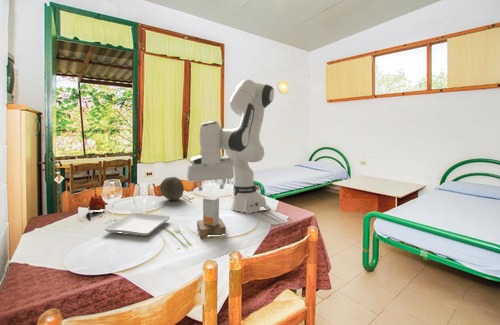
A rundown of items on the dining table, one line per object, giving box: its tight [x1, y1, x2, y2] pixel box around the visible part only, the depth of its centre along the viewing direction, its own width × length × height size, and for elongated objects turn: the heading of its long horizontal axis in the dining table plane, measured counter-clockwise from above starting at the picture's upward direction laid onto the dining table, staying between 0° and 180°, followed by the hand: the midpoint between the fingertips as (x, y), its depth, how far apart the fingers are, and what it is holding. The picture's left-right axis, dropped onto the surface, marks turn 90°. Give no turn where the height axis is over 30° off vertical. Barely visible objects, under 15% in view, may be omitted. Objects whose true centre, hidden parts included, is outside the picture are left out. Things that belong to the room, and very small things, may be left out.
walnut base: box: [196, 217, 227, 239], centre depth 117 cm, size 11×11×4 cm
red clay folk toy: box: [88, 184, 106, 211], centre depth 140 cm, size 8×7×15 cm
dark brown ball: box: [159, 176, 185, 201], centre depth 164 cm, size 14×14×15 cm
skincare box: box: [202, 195, 220, 226], centre depth 115 cm, size 6×4×12 cm
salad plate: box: [103, 212, 171, 237], centre depth 120 cm, size 21×21×3 cm
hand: (211, 189), depth 114 cm, fingers open, 8 cm apart
